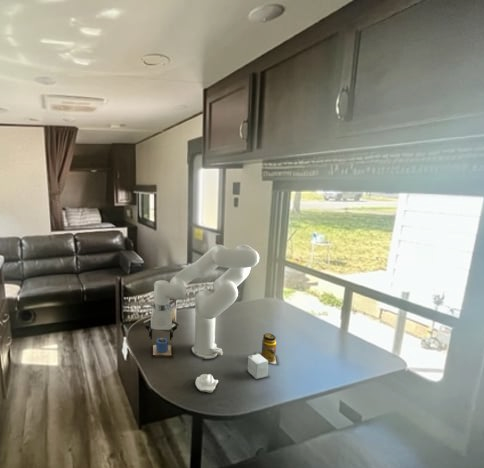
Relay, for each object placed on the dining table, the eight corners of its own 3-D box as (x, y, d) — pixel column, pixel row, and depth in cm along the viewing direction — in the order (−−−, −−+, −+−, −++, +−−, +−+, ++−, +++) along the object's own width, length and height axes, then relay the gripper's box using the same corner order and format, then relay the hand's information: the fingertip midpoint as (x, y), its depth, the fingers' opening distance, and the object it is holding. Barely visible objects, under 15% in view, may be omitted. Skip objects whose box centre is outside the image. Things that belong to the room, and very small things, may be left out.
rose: (223, 381, 120) (201, 385, 117) (223, 391, 120) (201, 395, 118) (212, 367, 129) (191, 370, 127) (212, 376, 130) (191, 379, 128)
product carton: (267, 376, 129) (268, 361, 128) (255, 379, 127) (256, 363, 126) (258, 368, 135) (259, 353, 134) (247, 370, 133) (247, 355, 132)
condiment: (276, 364, 138) (278, 340, 135) (257, 361, 140) (258, 337, 138) (274, 355, 144) (276, 332, 142) (256, 353, 147) (257, 330, 145)
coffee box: (168, 331, 170) (168, 304, 167) (158, 328, 173) (158, 301, 171) (176, 325, 177) (176, 299, 174) (167, 322, 181) (167, 296, 178)
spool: (169, 348, 150) (169, 339, 149) (164, 354, 145) (164, 344, 144) (160, 345, 153) (160, 336, 152) (154, 350, 148) (154, 341, 147)
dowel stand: (170, 347, 153) (170, 334, 152) (171, 357, 144) (171, 343, 143) (153, 346, 154) (153, 334, 152) (152, 357, 145) (152, 343, 144)
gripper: (143, 308, 142) (143, 341, 145) (180, 309, 141) (178, 343, 144) (144, 302, 149) (143, 334, 152) (178, 303, 148) (177, 335, 151)
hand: (160, 338), depth 148 cm, fingers open, 9 cm apart
